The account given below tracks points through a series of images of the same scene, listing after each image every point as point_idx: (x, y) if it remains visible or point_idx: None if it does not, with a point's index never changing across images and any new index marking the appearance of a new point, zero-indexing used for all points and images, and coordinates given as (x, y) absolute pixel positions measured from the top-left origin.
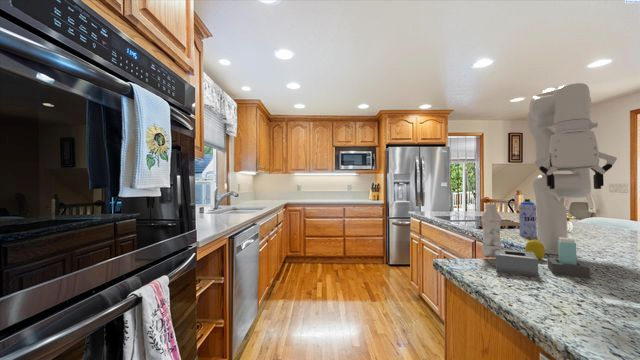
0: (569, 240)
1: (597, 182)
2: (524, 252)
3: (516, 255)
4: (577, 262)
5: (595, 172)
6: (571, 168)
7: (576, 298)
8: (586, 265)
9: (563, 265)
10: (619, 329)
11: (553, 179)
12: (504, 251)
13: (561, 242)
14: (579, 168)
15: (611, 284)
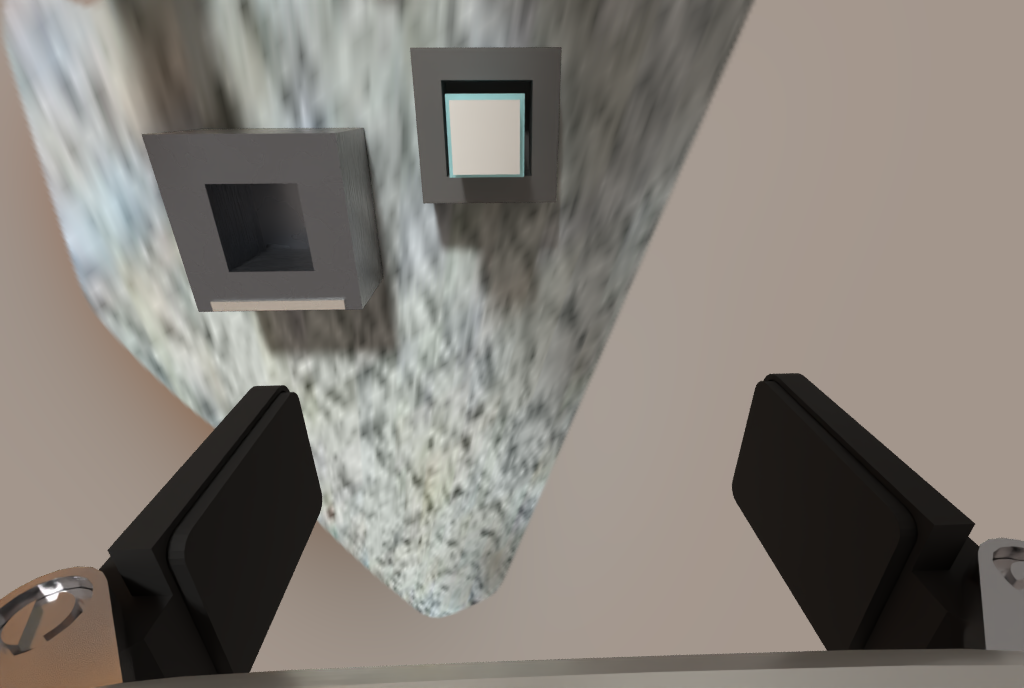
0: (495, 172)
1: (770, 549)
2: (296, 169)
3: (275, 273)
4: (532, 107)
5: (932, 633)
6: (581, 684)
7: (469, 400)
8: (554, 160)
9: (464, 202)
10: (506, 529)
11: (262, 619)
12: (206, 198)
13: (455, 177)
14: (808, 657)
15: (613, 180)
